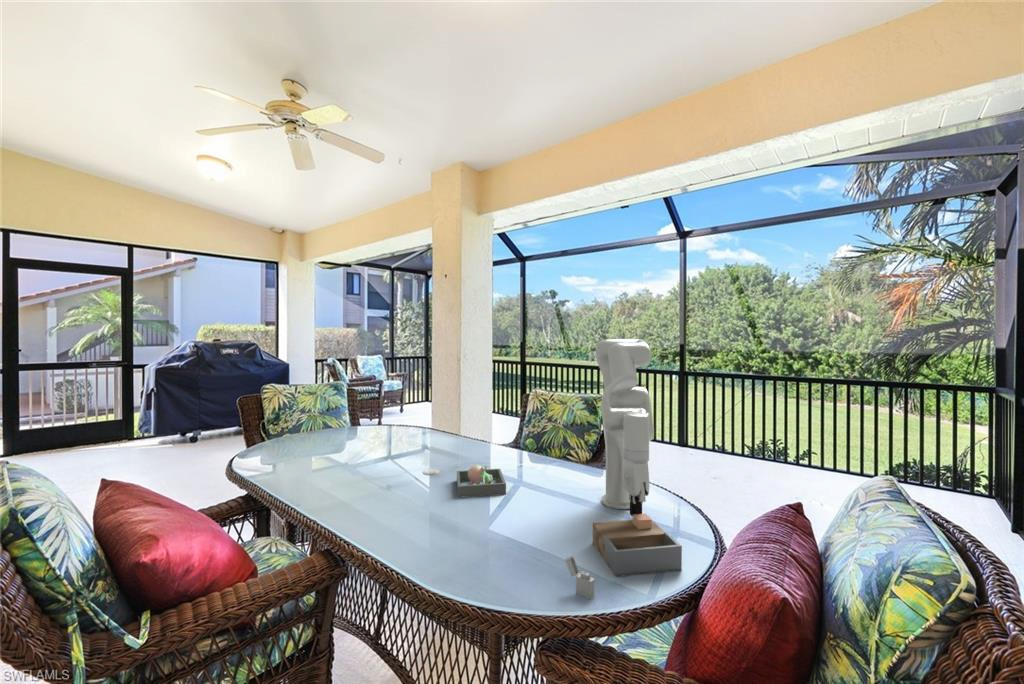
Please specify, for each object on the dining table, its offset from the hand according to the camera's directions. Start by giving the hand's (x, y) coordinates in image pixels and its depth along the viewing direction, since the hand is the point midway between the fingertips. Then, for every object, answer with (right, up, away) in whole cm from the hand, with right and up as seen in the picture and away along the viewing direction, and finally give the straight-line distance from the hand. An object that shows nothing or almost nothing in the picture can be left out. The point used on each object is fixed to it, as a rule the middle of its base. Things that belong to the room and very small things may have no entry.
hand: (635, 515), depth 135 cm
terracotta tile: (+1, -1, -4) cm, 4 cm away
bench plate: (-4, -8, -5) cm, 10 cm away
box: (-2, -8, -14) cm, 17 cm away
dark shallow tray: (-49, -6, +44) cm, 67 cm away
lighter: (-21, -9, -26) cm, 34 cm away
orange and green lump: (-49, -6, +44) cm, 67 cm away
